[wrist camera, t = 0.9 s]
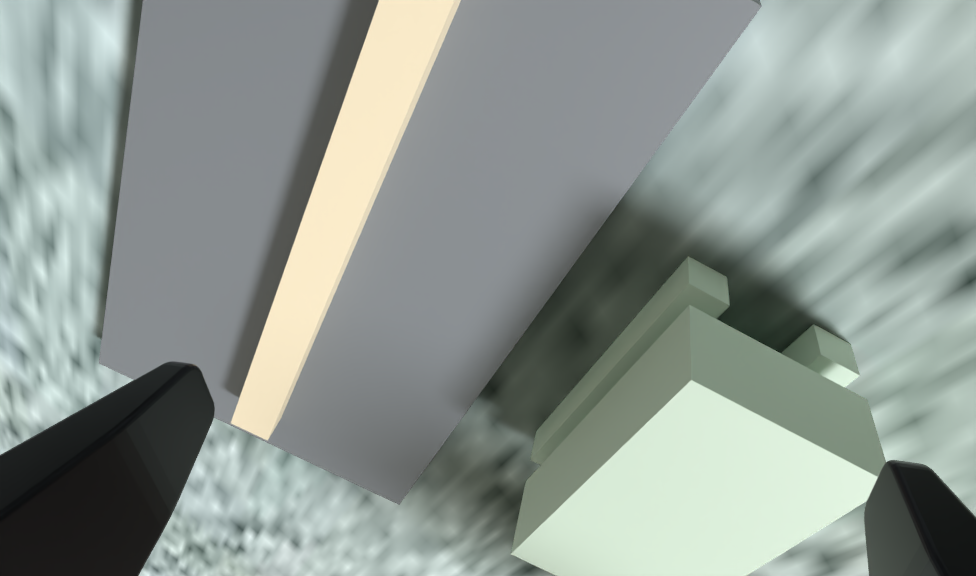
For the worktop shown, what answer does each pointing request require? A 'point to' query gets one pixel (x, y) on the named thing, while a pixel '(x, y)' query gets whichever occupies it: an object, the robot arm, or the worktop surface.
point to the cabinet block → (696, 446)
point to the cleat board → (378, 198)
